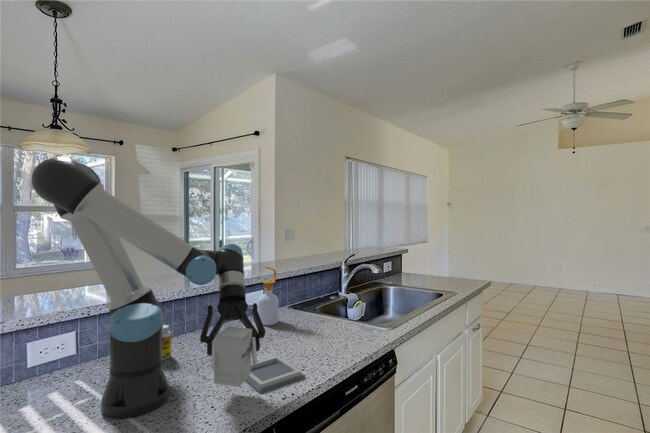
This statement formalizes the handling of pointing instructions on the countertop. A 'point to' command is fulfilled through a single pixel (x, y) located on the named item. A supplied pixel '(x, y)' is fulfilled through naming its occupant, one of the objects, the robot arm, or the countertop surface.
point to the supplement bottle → (166, 342)
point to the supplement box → (233, 356)
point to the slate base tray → (272, 374)
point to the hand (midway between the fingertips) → (234, 365)
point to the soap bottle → (268, 304)
